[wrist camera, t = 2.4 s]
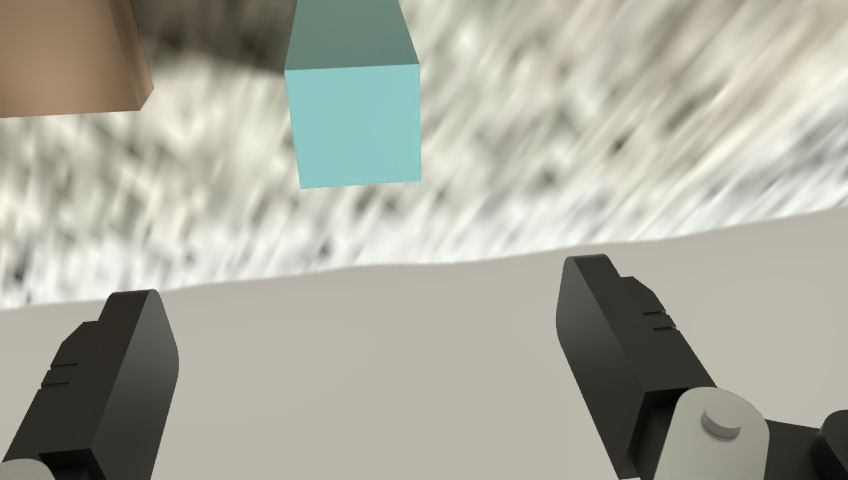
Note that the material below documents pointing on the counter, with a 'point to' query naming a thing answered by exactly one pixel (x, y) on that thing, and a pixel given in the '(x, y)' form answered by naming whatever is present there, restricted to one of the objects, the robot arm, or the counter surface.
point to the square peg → (353, 93)
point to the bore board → (70, 58)
